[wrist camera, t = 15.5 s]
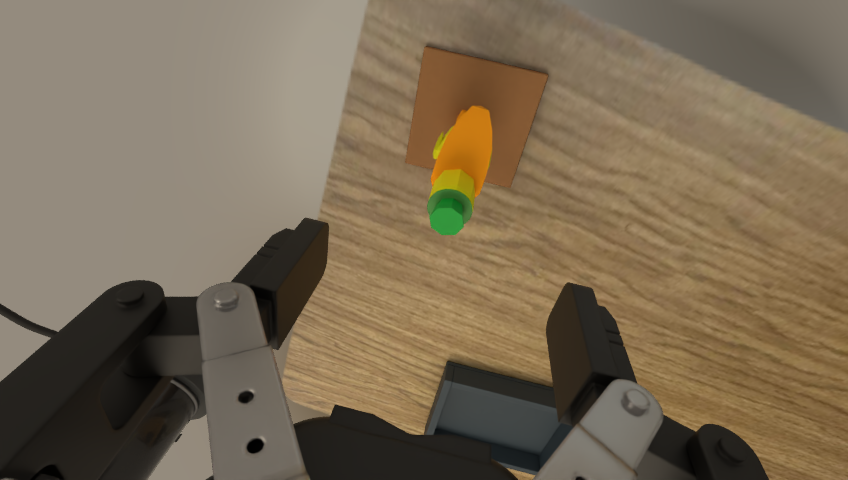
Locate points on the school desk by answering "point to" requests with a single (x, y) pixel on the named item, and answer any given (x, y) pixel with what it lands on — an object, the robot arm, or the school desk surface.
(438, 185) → the toy figure
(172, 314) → the robot arm
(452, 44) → the school desk surface
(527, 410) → the tray
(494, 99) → the coaster
